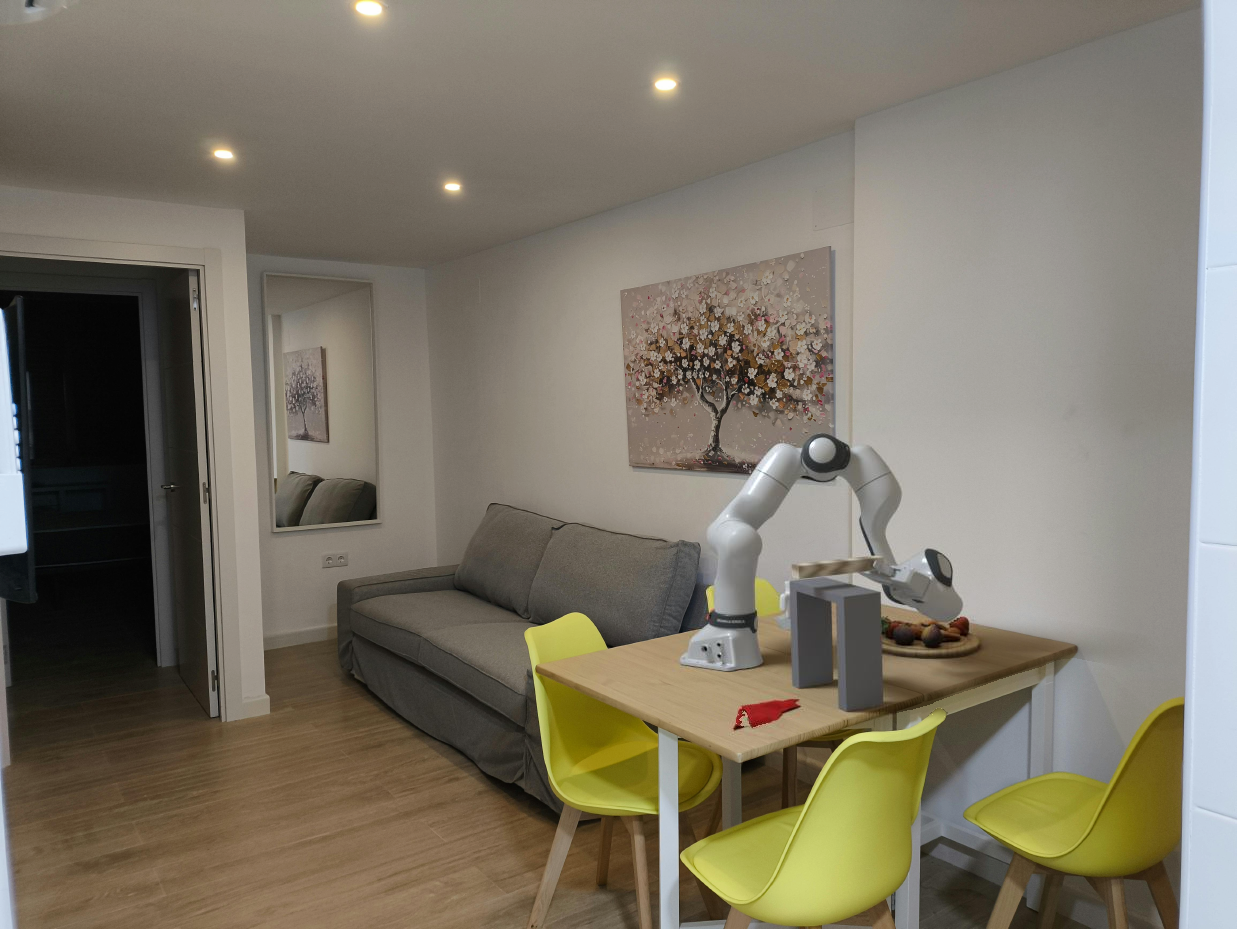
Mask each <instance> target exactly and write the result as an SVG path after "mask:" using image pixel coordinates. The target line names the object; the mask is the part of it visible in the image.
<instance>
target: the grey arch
mask: <svg viewBox="0 0 1237 929" xmlns="http://www.w3.org/2000/svg"><path fill="white" fill-rule="evenodd" d="M789 581H790V618H791V630H790V653H791V681H792V682H791V683H792V684H791V685H792V686H793V687H795V688H797V689H804V688H809V687H811V688H812V687H816V686H822V685H828V684H833V683H834V654H833V653H834V652H833V648H834V647H833V643H834V642H833V611H832V610H833V604H832V603H834V604H835V611H836V612H835V614H836V616H835V618H836V648H837V649H836V653H837V655H836V656H837V657H836V658H837V659H836V661H837V662H836V663H837V664H836V665H837V694H838V696H837V698H838V700H837V701H838V702H837V703H838V709H840V710H842V711H844V712H846V713H848V712H853V711H859V710H864V709H869V708H875V707H880V706H884V684H883V683H884V682H883V680H884V678H883V676H884V675H883V673H884V671H883V653H882V625H881V617H882V595H881V594H882V592H881V591H878V590H874V589H871V588H867V587H865V586H864V587H863V586H860V585H856V584H851V583H849V582H848V583H847V582H844V581H840V580H836V579H832V578H828V577H826V576H823V577H814V578H805V579H797V580H789Z"/></svg>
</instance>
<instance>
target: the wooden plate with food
mask: <svg viewBox="0 0 1237 929" xmlns="http://www.w3.org/2000/svg"><path fill="white" fill-rule="evenodd" d="M888 617H889V615H887V616H881V625H882V654H885V655H889V656H890V655H891V656H894V657H903V658H910V659H911V658H912V659H933V660H934V659H935V660H936V659H953V658H960V657H964V656H968V655H971V654H973V653H975V652H977V651H978V650H979V649H980V648H981V644H982V643H981V640H980V638H978V637H977V636H976V635H975V634H973V633H971V632H969V631H970V621H969V619H968V618H967V617H966V616H961V615H960V616H958V617H956V618H955V619H953V621H950V622H948V626H949V627H948V626H946V625H945V624H943V623H942V622H938V621H935V620H933V619H927V620H919V621H918V622H905V621H901V620H891V619H890V618H888Z"/></svg>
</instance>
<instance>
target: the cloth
mask: <svg viewBox="0 0 1237 929" xmlns="http://www.w3.org/2000/svg"><path fill="white" fill-rule="evenodd" d="M799 701H800V699H799V698H789V699H784V700H777V699H773V700H770V701H769V700H768V701H765V702H759V703H751V704H745V705H741V706H740V708H738V711H737V714H736V715H737V717H736V716H735V719H736V723H737V724H736V723H735V724H734V725H735V726H734V725H733V728H732V729H734V728H737V727H739V728H740V727H741V728H744V727H743V726H741V725H740V724H741V723H742V721H740V720H739V719H740V718H741V717H742V716H745V714H742V713H743V712H744V711H745V712H746V713H747V715H748V721H749V724H750V725H751V727H752V728H753V727H756V726H758V725H762V724H765V725H767V724H766V723H768V724H770V723H772V722H776V721H778V720H779V719H780V717H781V716H782V713H784V712H786V711H789V710H792V709H794V708H797V707H802V706H801V705H799V704H797V702H799ZM741 707H742V708H741ZM742 711H743V712H742ZM738 714H739V715H738ZM762 726H763V725H762ZM756 728H757V727H756ZM734 730H735V729H734Z"/></svg>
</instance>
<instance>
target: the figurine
mask: <svg viewBox="0 0 1237 929" xmlns="http://www.w3.org/2000/svg"><path fill="white" fill-rule="evenodd" d="M790 581H791V580H788V581H787V580H786V581H784V588H785V592H784V593H781V594H780V596H779V610H780V612H783V613H784V612H785V613H784V614H781V615H778V616H776V617H774V619H775V621H776V623H777V624H778V626H779V628H780V629H781V630H785V629H787V630H786V631H791V618H790Z"/></svg>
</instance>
